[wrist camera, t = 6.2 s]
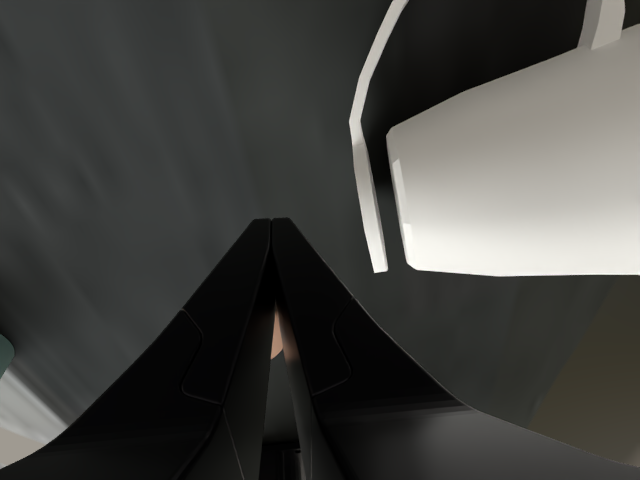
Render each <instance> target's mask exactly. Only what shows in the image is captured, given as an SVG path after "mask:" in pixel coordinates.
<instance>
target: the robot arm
mask: <svg viewBox="0 0 640 480" xmlns="http://www.w3.org/2000/svg"><path fill="white" fill-rule="evenodd" d="M276 308H277V315H278V321H279V327H280V333H281V338H282V344H283V350H284V356H285V361H286V367H287V373H288V379H289V384H290V390H291V396H292V402H293V408H294V413H295V419H296V425H297V431H298V436H299V442H298V443H288V444H279V445H269V446H262V440H263V430H264V420H265V410H266V401H267V391H268V381H269V371H270V361H271V352H272V342H273V332H274V322H275V310H276ZM0 480H640V467H637V466H632V465H628V464H624V463H620V462H616V461H613V460H610V459H606V458H603V457H600V456H597V455H595V454H592V453H589V452H587V451H584V450H581V449H579V448H576V447H573V446H571V445H568V444H565V443H562V442H560V441H557V440H554V439H552V438H549V437H547V436H543V435H541V434H538V433H536V432H533V431H531V430H528V429H525V428H523V427H520V426H517V425H515V424H512V423H509V422H507V421H504V420H501V419H499V418H496V417H493V416H491V415H488V414H485V413H483V412H480V411H478V410H476V409H474V408H472V407H470V406H468V405H467V404H465V403H464V402H462V401H461V400H459V399H458V398H456V397H455V396H454V395H453V394H451V393H450V392H449V391H448V390H447V389H445V388H444V387H443V386H442V385H441V384H440V383H439V382H438V381H437V380H436V379H435V378H433V377H432V376H431V375H430V374H429V373H428V372H427V371H426V370H425V369H424V368H423V367H422V366H421V365H420V364H419V363H417V362H416V361H415V360H414V359H413V358H412V357H411V356H410V355H409V354H408V353H407V352H406V351H405V350H404V349H403V348H402V347H400V346H399V345H398V344H397V343H396V342H395V341H394V340H393V339H392V338H391V337H390V336H389V335H388V334H387V333H386V332H385V331H384V330H383V329H382V328H381V327H380V326H379V325H378V324H377V323H376V322H375V320H374V319H373V318H372V317H371V316H370V315H369V314H368V312H367V311H366V310H365V309H364V308H363V307H362V305H361V304H360V303H359V302H358V300H357V299H356V298H354V296H353V295H352V293H351V292H350V291H349V290H348V289H347V287H346V286H345V285H344V284H343V282H342V281H341V280H340V279H339V278H338V276H337V275H336V274H335V273H334V271H333V270H332V269H331V268H330V267H329V265H328V264H327V263H326V262H325V261H324V259H323V258H322V257H321V256H320V254H319V253H318V252H317V251H316V250H315V248H314V247H313V246H312V245H311V244H310V242H309V241H308V240H307V239H306V237H305V236H304V235H303V234H302V233H301V231H300V230H299V229H298V228H297V227H296V225H295V224H294V223H293V222H292V220H291V219H290V218H287V217H286V218H274V219H272V221H271V219H269V218H266V219H254V220H253V221H252V222H251V223H250V224H249V226H248V227H247V228H246V229H245V231H244V232H243V233H242V234H241V236H240V237H239V238H238V239H237V240H236V242H235V243H234V244H233V245H232V247H231V248H230V249H229V250H228V252H227V253H226V254H225V255H224V257H223V258H222V259H221V260H220V262H219V263H218V264H217V265H216V267H215V268H214V269H213V270H212V271H211V273H210V274H209V275H208V276H207V278H206V279H205V280H204V281H203V283H202V284H201V285H200V286H199V288H198V289H197V290H196V291H195V293H194V294H193V295H192V296H191V297H190V299H189V300H188V301H187V302H186V304H185V305H184V306H183V307H182V310H180V311H179V312H178V313H177V315H176V316H175V317H174V318H173V320H172V321H171V322H170V323H169V324H168V326H167V327H166V328H165V329H164V330H163V331H162V333H161V334H160V335H159V336H158V337H157V338H156V340H155V341H154V342H153V343H152V344H151V345H150V346H149V347H148V348H147V349H146V350H145V351H144V352H143V353H142V354H141V355H140V357H139V358H138V359H137V360H136V361H135V362H134V363H133V364H132V365H131V366H130V367H129V368H128V369H127V370H126V371H125V372H124V373H123V374H122V375H121V376H120V377H119V378H118V379H117V380H116V381H115V382H114V383H113V384H112V385H111V386H110V387H109V388H108V389H107V390H106V391H105V392H104V393H103V394H102V395H101V396H100V397H99V398H98V399H97V400H96V401H95V402H94V403H93V404H92V405H91V406H90V407H89V408H88V409H87V410H86V411H85V412H84V413H83V414H82V415H81V416H80V417H79V418H78V419H77V420H76V421H75V422H74V423H72V424H71V425H70V426H69V427H68V428H67V429H66V430H65V431H63V432H62V433H61V434H60V435H59V436H57V437H56V438H55V439H54V440H52V441H51V442H49V443H48V444H47V445H45V446H44V447H42V448H41V449H39V450H37V451H36V452H34V453H33V454H31V455H29V456H27V457H25V458H23V459H21V460H19V461H17V462H15V463H12V464H10V465H8V466H6V467H4V468H2V469H0Z"/></svg>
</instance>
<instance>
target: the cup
mask: <svg viewBox="0 0 640 480" xmlns="http://www.w3.org/2000/svg"><path fill="white" fill-rule="evenodd" d="M408 1H409V0H393V1H392V3H391V5H390V7H389V9H388V12H387V14H386V16H385V18H384V20H383V22H382V25H381V27H380V29H379V31H378V33H377V36H376V38H375V40H374V43H373V45H372V48H371V50H370V53H369V55H368V57H367V60H366V62H365V65H364V67H363V69H362V72H361V74H360V77H359V81H358V85H357V89H356V94H355V98H354V102H353V106H352V111H351V115H350V119H349V124H350V130H351V137H352V147H353V160H354V171H355V177H356V183H357V189H358V195H359V201H360V207H361V213H362V219H363V225H364V230H365V235H366V239H367V243H368V248H369V252H370V256H371V260H372V264H373V269H374V273H377V272H384V271H387V270H388V265H387V258H386V251H385V244H384V238H383V232H382V226H381V220H380V214H379V208H378V202H377V197H376V191H375V186H374V180H373V175H372V170H371V165H370V160H369V155H368V150H367V146H366V143H365V139H364V137H363V131H362V126H361V121H360V119H361V115H362V111H363V107H364V102H365V98H366V94H367V90H368V86H369V82H370V79H371V77H372V75H373V72H374V70H375V68H376V65H377V63H378V61H379V59H380V56H381V54H382V52H383V49H384V47H385V45H386V43H387V41H388V38H389V36H390V34H391V32H392V30H393V28H394V26H395V24H396V22H397V20H398V18H399V16H400V14H401V12H402V10H403V9H404V7H405V6H406V4H407V3H408ZM624 14H625V3H624V0H587V3H586V10H585V16H584V22H583V28H582V32H581V35H580V39H579V43H578V46H577V48H576V49H573V50H571V51H568V52H566V53H563V54H561V55H558V56H556V57H553V58H551V59H548V60H546V61H543V62H540V63H538V64H535V65H532V66H530V67H527V68H524V69H522V70H519V71H516V72H514V73H511V74H509V75H506V76H503V77H501V78H498V79H495V80H493V81H490V82H487V83H485V84H482V85H479V86H477V87H474V88H471V89H469V90H466V91H464V92H461V93H459V94H457V95H455V96H453V97H451V98H449V99H447V100H445V101H443V102H441V103H439V104H437V105H435V106H434V107H432V108H430V109H428V110H426V111H424V112H422V113H420V114H418V115H416V116H414V117H412V118H410V119H408V120H406V121H404V122H402V123H400V124H398V125H396V126H394V127H392V128H391V129H390V131H389V132H388V134H387V135H386V141H387V152H388V159H389V165H390V172H391V178H392V184H393V191H394V196H395V202H396V208H397V213H398V219H399V225H400V231H401V236H402V241H403V246H404V251H405V256H406V261H407V263H408V264H409V265H410V266H412V267H413V268H415V269H416V270H425V271H438V272H451V273H463V274H476V275H489V276H539V275H631V274H632V275H640V24H637V25H634V26H632V27H629V28H627V29H624V30H622V25H623V19H624Z"/></svg>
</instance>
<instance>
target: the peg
mask: <svg viewBox="0 0 640 480" xmlns="http://www.w3.org/2000/svg"><path fill="white" fill-rule="evenodd" d="M14 355H15V351H14V347H13V345H12V344H11V343H10V342H9V340H8V339H6V338H5V337H4V336H3V335H1V334H0V379H1V377H2V375H3V374H4V372H5V371H6V369H7V367H8V366H9V364H10V363H11V361H12V359H13V358H14Z"/></svg>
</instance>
